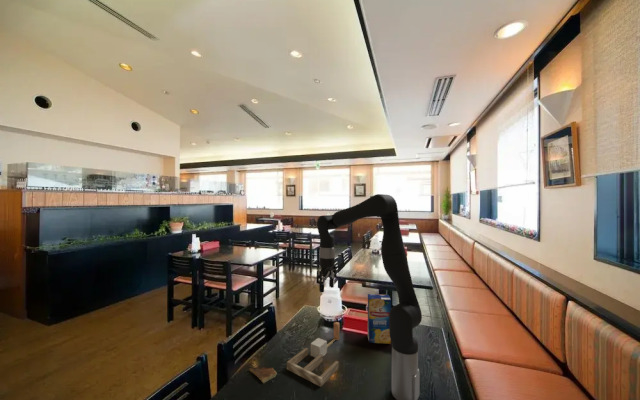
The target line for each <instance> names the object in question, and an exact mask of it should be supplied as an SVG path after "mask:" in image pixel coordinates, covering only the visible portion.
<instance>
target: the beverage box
mask: <svg viewBox="0 0 640 400" xmlns="http://www.w3.org/2000/svg"><path fill="white" fill-rule="evenodd" d="M391 308H392V299H391V297H390V295H389V294H380V293H379V294H378V293H377V294H376V293H375V294H374V293H367V338H368V343H369V342H370V343H369V344H371V343H373V344H389V345H392V341H391V339H390V332H389V313H390V310H391Z"/></svg>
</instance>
